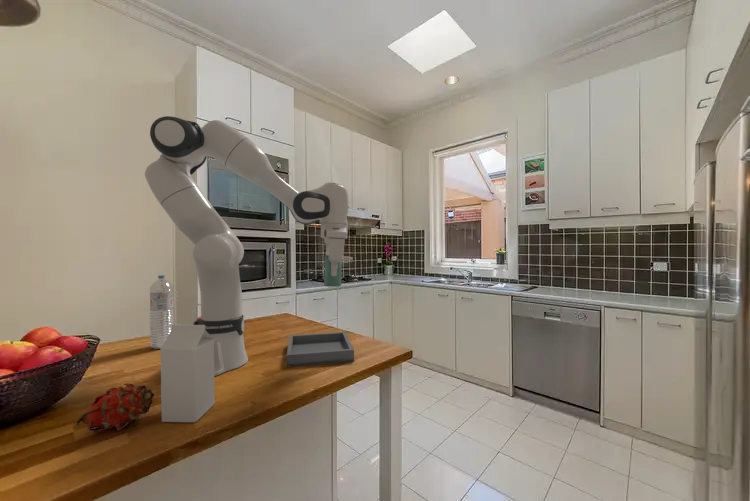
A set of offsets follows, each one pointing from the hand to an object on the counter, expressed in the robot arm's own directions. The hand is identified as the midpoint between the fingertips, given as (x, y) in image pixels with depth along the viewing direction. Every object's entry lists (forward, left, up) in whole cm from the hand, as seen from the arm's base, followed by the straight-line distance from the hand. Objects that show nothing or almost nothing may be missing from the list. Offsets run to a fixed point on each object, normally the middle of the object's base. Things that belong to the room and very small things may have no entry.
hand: (332, 274), depth 103 cm
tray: (-4, +1, -26) cm, 26 cm away
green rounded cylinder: (0, 0, -4) cm, 4 cm away
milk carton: (-33, -30, -26) cm, 52 cm away
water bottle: (-58, +19, -26) cm, 66 cm away
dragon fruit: (-45, -32, -26) cm, 62 cm away
